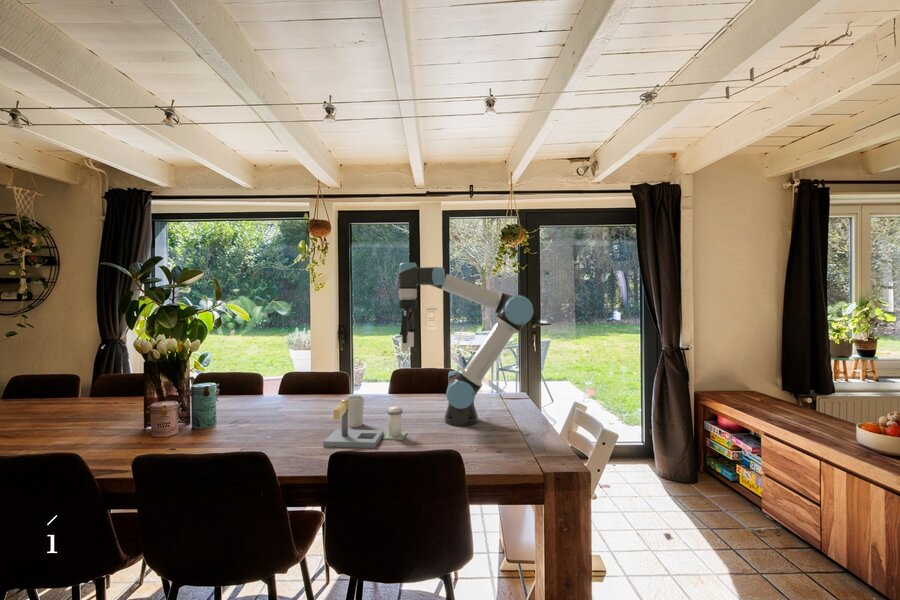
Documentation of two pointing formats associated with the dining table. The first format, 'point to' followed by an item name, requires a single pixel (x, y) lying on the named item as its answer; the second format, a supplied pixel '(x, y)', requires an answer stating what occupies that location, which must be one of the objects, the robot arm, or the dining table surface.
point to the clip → (341, 408)
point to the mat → (394, 437)
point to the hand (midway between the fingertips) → (408, 348)
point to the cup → (355, 410)
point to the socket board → (353, 436)
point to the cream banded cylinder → (395, 421)
